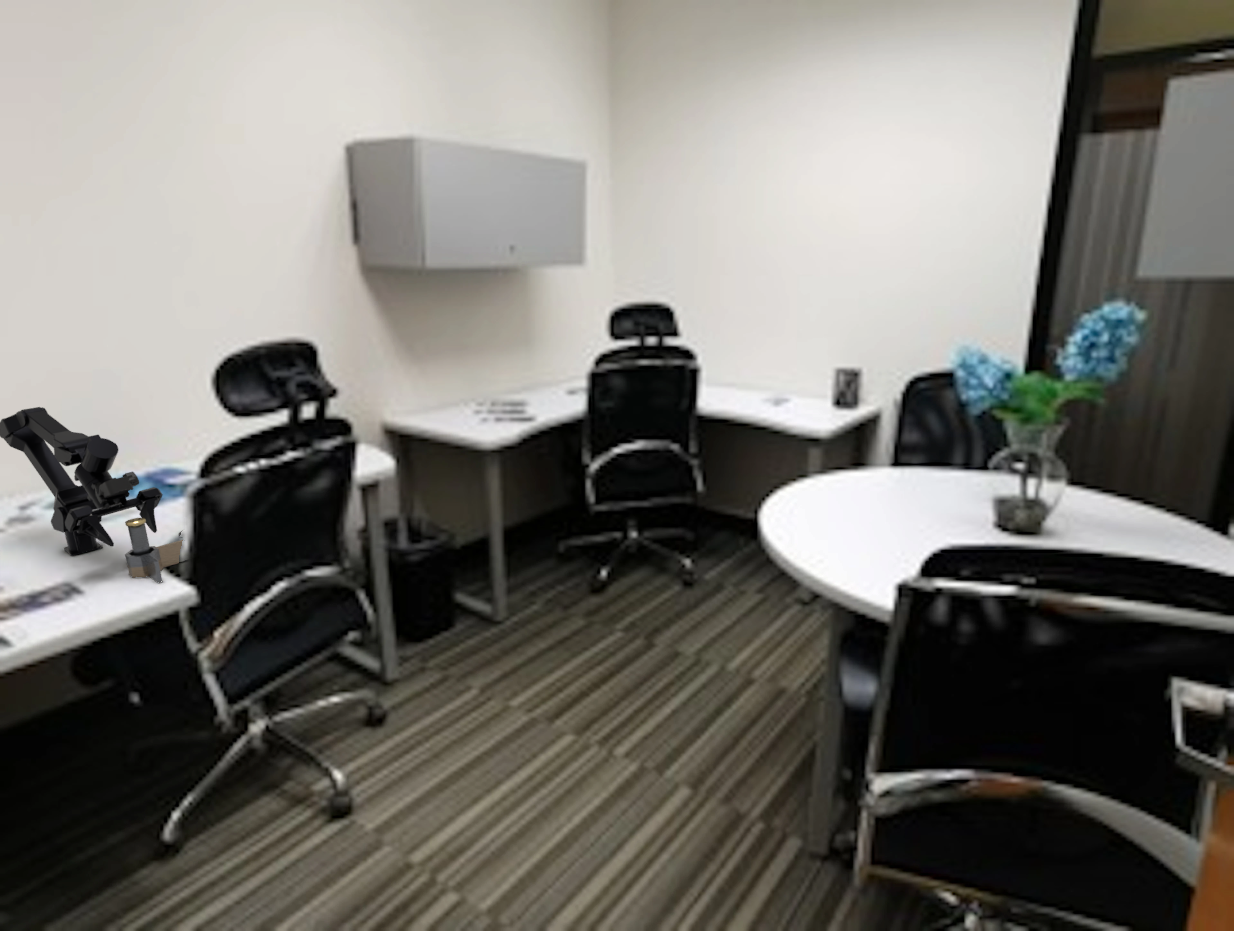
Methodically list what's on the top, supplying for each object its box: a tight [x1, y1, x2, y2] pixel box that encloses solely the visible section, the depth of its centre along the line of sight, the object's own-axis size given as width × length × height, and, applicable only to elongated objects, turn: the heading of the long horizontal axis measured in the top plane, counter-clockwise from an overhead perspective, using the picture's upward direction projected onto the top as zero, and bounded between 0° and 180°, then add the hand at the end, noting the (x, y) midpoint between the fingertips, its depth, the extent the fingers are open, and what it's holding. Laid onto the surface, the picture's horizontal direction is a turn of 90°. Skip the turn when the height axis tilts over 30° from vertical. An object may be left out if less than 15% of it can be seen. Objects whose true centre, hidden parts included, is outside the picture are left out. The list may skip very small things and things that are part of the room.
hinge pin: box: [124, 517, 151, 556], centre depth 164 cm, size 4×4×12 cm
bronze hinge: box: [124, 539, 184, 583], centre depth 165 cm, size 12×12×5 cm
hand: (134, 538), depth 165 cm, fingers open, 9 cm apart
